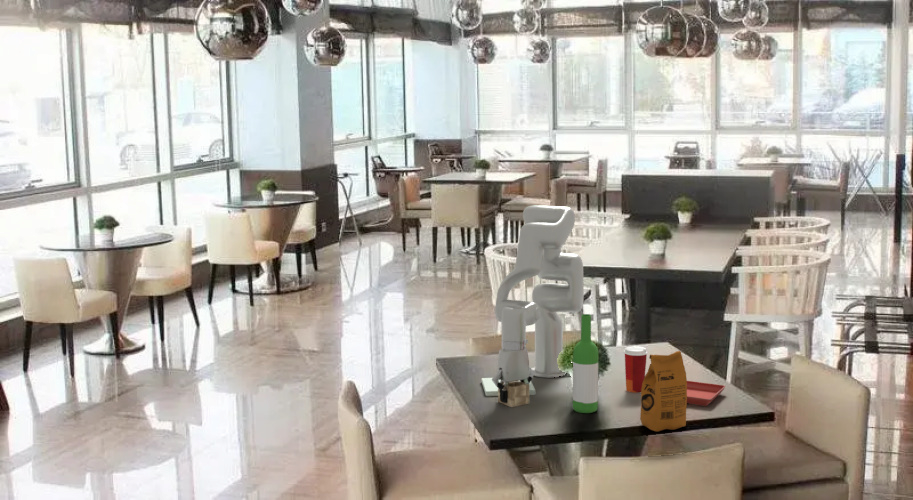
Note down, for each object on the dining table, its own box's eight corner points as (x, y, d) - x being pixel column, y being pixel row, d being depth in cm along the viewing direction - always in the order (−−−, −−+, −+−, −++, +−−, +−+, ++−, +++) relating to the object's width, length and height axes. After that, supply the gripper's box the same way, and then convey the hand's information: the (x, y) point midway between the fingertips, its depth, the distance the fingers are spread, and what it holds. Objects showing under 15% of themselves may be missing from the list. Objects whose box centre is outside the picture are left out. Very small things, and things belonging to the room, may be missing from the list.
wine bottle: (578, 405, 350) (579, 311, 346) (601, 408, 346) (603, 313, 342) (568, 411, 344) (569, 316, 339) (591, 415, 340) (592, 318, 335)
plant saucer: (671, 387, 370) (671, 377, 370) (725, 394, 362) (726, 384, 361) (654, 402, 354) (654, 391, 354) (710, 409, 346) (710, 399, 345)
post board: (528, 381, 378) (528, 365, 377) (535, 394, 362) (535, 378, 361) (481, 382, 377) (481, 366, 376) (486, 396, 361) (485, 379, 360)
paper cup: (649, 388, 368) (650, 347, 366) (643, 394, 361) (644, 352, 359) (626, 385, 371) (627, 344, 369) (619, 392, 364) (620, 350, 362)
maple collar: (515, 398, 358) (515, 380, 357) (529, 403, 353) (529, 384, 352) (498, 401, 355) (498, 383, 354) (511, 407, 349) (511, 388, 348)
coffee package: (635, 423, 332) (637, 351, 328) (671, 418, 336) (673, 347, 333) (653, 433, 323) (655, 359, 319) (690, 428, 327) (692, 354, 324)
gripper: (528, 338, 358) (528, 392, 361) (484, 346, 349) (484, 401, 352) (543, 343, 352) (542, 398, 355) (498, 351, 343) (498, 407, 346)
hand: (513, 399), depth 353 cm, fingers closed on maple collar, 7 cm apart
